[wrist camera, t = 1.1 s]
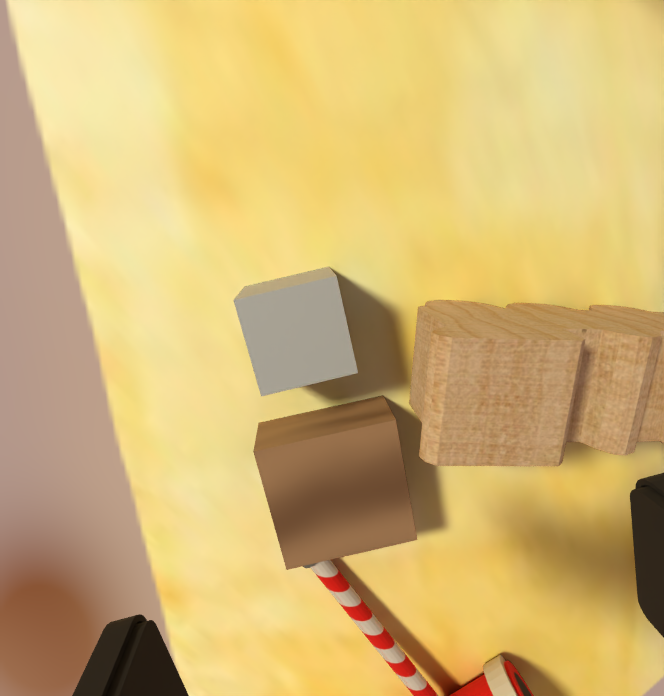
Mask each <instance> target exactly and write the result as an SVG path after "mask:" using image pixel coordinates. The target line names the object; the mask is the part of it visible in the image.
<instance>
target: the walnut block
mask: <svg viewBox="0 0 664 696" xmlns="http://www.w3.org/2000/svg"><path fill="white" fill-rule="evenodd" d="M254 455H255V459H256V462H257V466H258V469H259V473H260V476H261V480H262V484H263V487H264V491H265V494H266V498H267V501H268V505H269V508H270V512H271V516H272V519H273V523H274V526H275V530H276V533H277V537H278V541H279V544H280V548H281V551H282V555H283V558H284V562H285V566H286V569H287V570H288V569H292V568H297V567H301V566H305V565H310V564H314V563H318V562H323V561H327V560H331V559H336V558H340V557H344V556H349V555H353V554H357V553H362V552H366V551H370V550H375V549H379V548H383V547H388V546H392V545H396V544H401V543H405V542H409V541H414V540H417V535H416V530H415V524H414V519H413V513H412V507H411V502H410V496H409V491H408V485H407V480H406V474H405V468H404V463H403V457H402V452H401V446H400V441H399V435H398V429H397V424H396V419H395V417H394V415H393V414H392V412H391V410H390V408H389V406H388V404H387V402H386V400H385V398H384V396H378V397H374V398H369V399H365V400H360V401H356V402H351V403H347V404H342V405H338V406H333V407H329V408H324V409H320V410H315V411H311V412H306V413H302V414H297V415H293V416H288V417H284V418H279V419H275V420H270V421H265V422H261V423H259V424H258V430H257V435H256V441H255V446H254Z"/></svg>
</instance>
